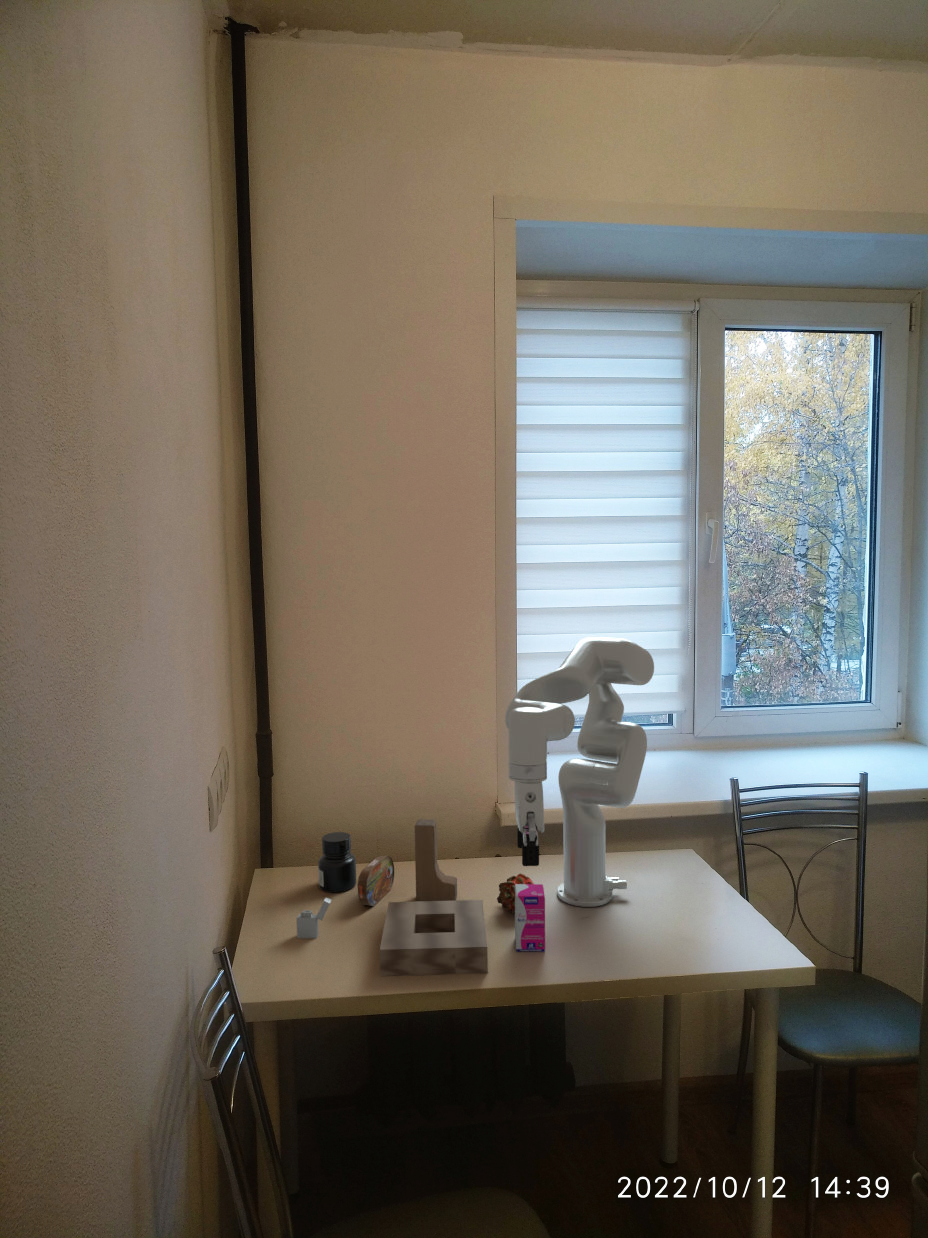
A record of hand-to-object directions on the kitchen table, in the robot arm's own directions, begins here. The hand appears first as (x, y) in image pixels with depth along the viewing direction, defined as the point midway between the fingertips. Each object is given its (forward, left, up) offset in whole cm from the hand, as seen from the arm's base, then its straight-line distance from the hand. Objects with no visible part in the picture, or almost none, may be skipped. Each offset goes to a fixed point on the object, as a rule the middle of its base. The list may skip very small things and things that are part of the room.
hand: (527, 856), depth 147 cm
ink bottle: (+43, -31, -19) cm, 56 cm away
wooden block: (+19, -22, -19) cm, 35 cm away
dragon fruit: (+1, -16, -19) cm, 25 cm away
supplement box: (0, 0, -19) cm, 19 cm away
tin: (+33, -24, -19) cm, 45 cm away
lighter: (+44, -6, -19) cm, 48 cm away
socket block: (+19, 0, -18) cm, 26 cm away
